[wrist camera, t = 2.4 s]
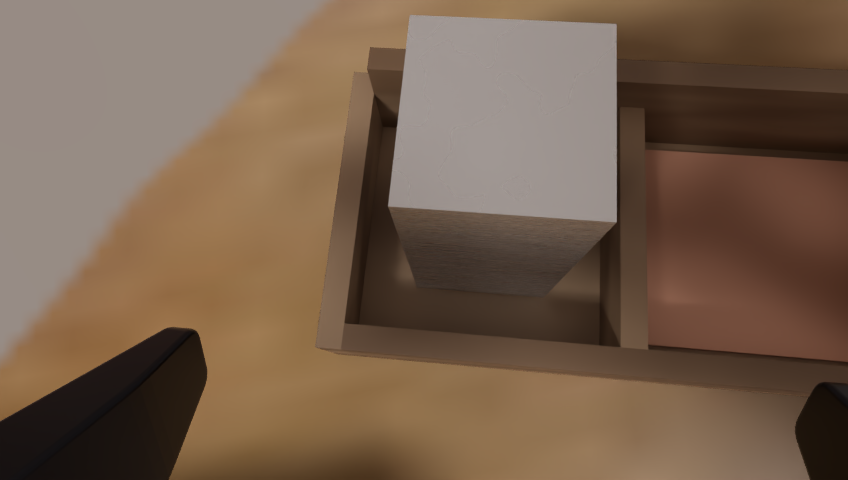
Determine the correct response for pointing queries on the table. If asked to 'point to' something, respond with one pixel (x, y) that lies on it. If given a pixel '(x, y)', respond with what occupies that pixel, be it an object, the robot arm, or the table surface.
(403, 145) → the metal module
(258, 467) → the table surface
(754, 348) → the divided wooden tray
